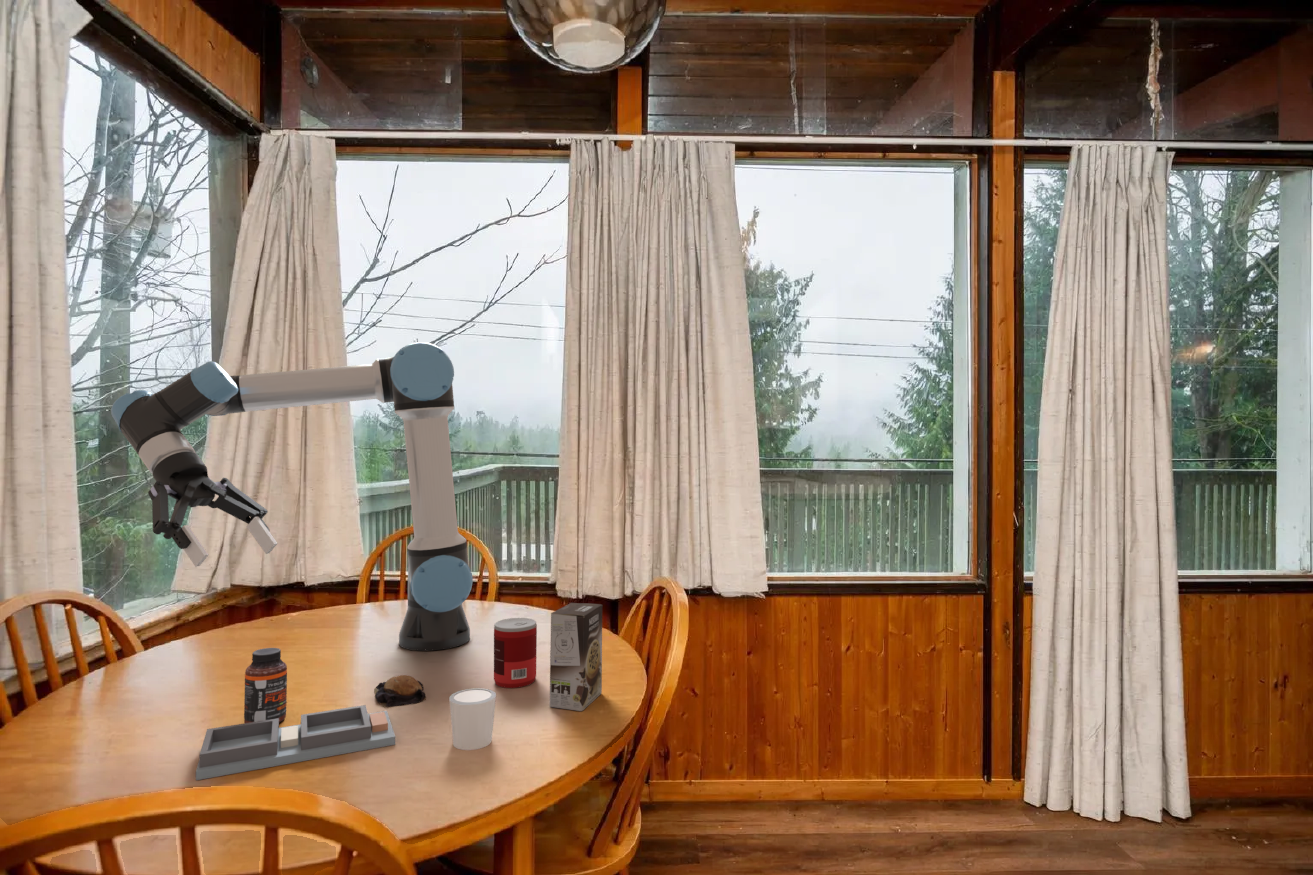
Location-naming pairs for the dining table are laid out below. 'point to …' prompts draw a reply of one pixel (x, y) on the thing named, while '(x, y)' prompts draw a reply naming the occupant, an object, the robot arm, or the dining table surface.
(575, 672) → the grey food box
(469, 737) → the white short cylinder
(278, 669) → the supplement bottle
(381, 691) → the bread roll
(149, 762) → the dining table surface
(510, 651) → the canned food
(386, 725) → the compartment tray
